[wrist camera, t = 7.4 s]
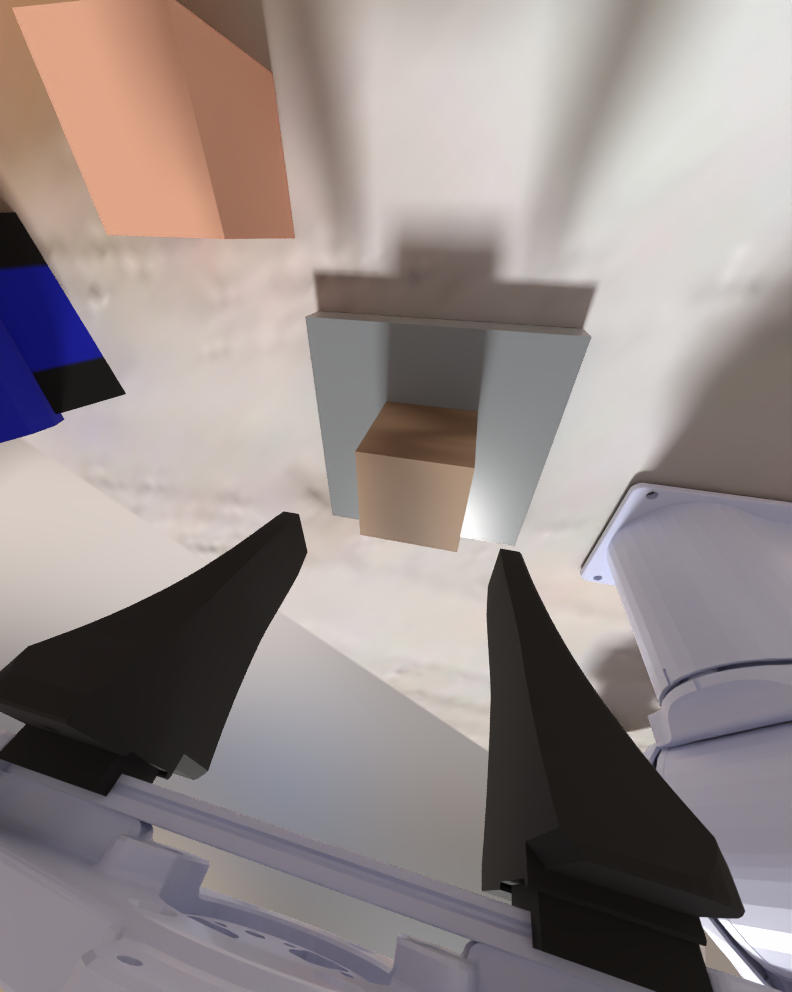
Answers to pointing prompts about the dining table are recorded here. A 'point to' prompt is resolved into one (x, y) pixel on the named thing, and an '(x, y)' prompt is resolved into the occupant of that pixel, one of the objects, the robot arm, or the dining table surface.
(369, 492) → the walnut block
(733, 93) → the dining table surface
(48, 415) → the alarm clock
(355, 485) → the base plate
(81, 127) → the terracotta block
